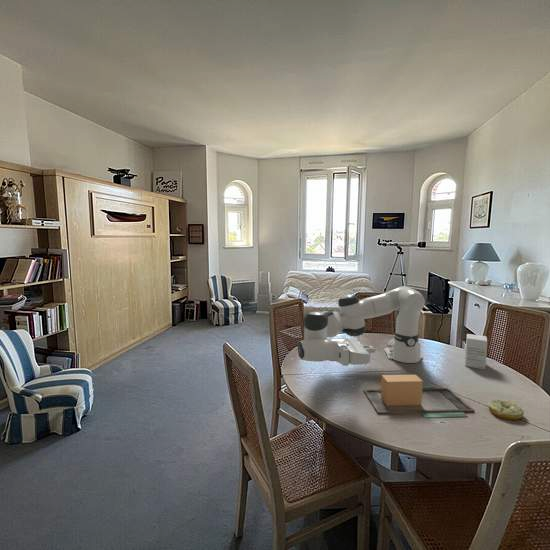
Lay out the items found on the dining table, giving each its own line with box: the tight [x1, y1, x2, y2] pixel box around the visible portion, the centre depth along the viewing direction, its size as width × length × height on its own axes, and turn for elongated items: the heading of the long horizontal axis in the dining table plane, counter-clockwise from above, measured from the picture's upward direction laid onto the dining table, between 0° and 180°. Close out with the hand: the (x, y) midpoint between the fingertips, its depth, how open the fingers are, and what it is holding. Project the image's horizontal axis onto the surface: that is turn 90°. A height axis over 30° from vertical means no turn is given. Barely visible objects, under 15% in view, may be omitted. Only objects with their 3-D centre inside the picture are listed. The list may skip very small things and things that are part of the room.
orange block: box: [380, 374, 423, 407], centre depth 129 cm, size 6×14×10 cm, turn 91°
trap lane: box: [363, 385, 476, 419], centre depth 130 cm, size 24×37×1 cm, turn 91°
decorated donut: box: [487, 399, 525, 421], centre depth 120 cm, size 10×11×4 cm
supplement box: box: [464, 333, 488, 370], centre depth 165 cm, size 9×9×15 cm
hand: (374, 349), depth 126 cm, fingers closed
